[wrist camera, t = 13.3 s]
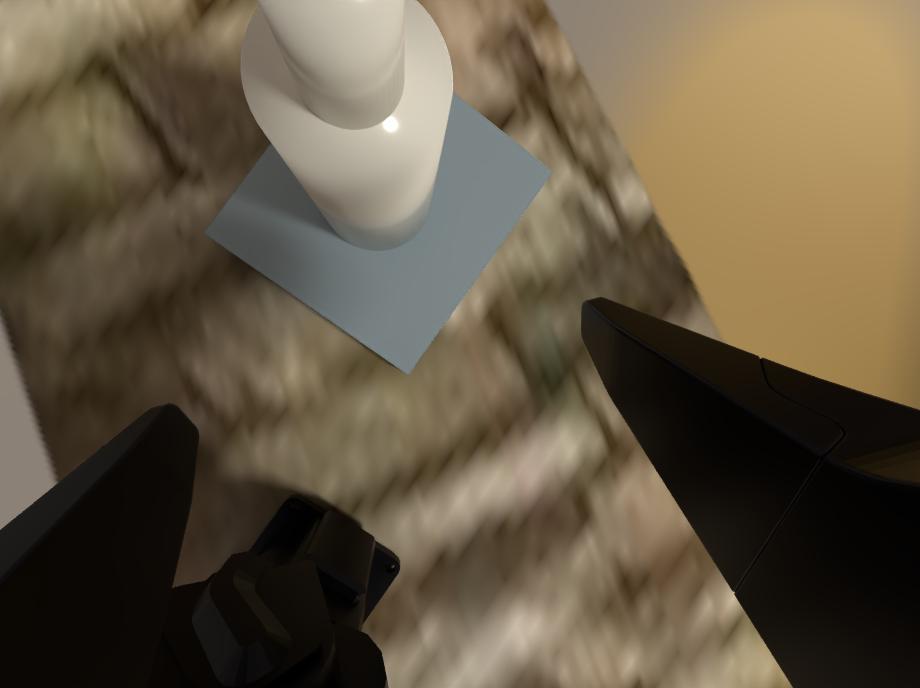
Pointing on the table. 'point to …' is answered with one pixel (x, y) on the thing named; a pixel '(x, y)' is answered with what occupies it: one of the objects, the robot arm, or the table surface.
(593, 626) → the table surface
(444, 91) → the cream bottle
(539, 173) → the slate board
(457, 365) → the table surface
